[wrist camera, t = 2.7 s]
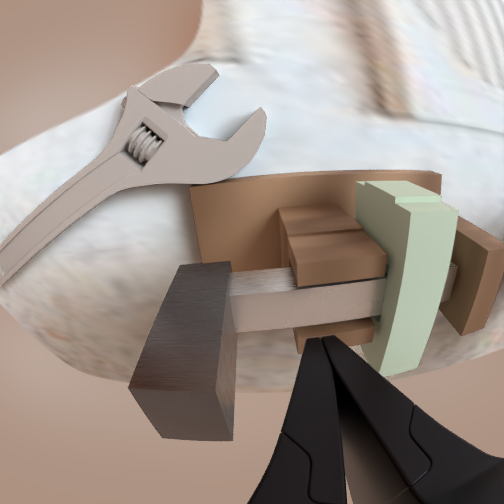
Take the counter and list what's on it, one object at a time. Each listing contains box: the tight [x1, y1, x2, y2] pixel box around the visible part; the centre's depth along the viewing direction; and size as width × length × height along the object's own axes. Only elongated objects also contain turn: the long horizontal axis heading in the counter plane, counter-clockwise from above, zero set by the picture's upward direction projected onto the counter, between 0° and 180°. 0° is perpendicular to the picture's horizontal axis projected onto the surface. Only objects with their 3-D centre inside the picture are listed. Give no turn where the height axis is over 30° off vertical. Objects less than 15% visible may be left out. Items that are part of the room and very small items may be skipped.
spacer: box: [355, 181, 459, 377], centre depth 10 cm, size 2×7×5 cm, turn 6°
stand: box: [189, 170, 504, 354], centre depth 12 cm, size 14×7×8 cm, turn 96°
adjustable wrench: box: [0, 64, 267, 287], centre depth 14 cm, size 25×6×2 cm, turn 110°
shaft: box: [128, 261, 458, 441], centre depth 8 cm, size 11×2×6 cm, turn 96°
